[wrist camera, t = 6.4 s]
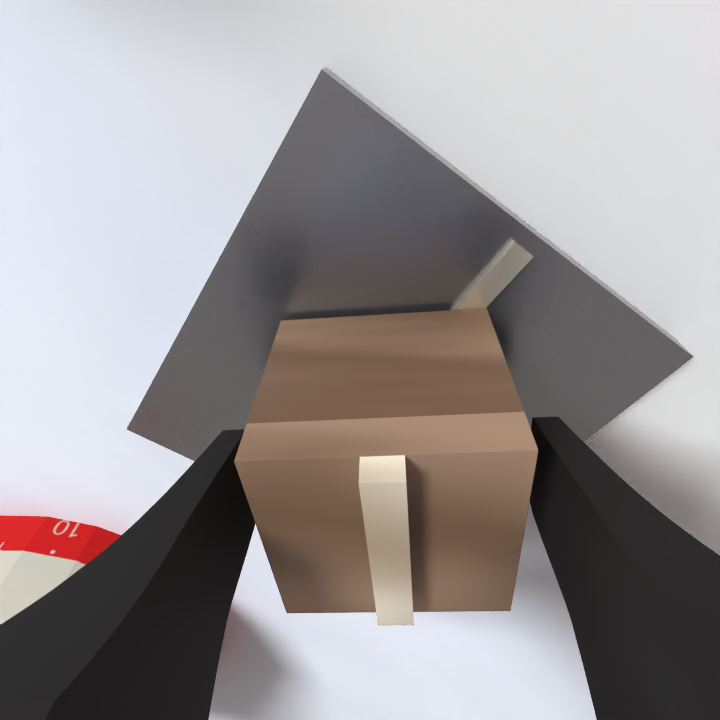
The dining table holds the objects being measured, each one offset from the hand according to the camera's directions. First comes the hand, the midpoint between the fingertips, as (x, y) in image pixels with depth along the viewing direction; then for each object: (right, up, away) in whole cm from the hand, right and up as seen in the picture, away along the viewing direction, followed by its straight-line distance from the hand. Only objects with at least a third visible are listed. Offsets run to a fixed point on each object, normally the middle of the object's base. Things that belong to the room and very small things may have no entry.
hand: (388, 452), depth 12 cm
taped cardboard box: (0, +1, +2) cm, 2 cm away
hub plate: (0, +2, +3) cm, 3 cm away
